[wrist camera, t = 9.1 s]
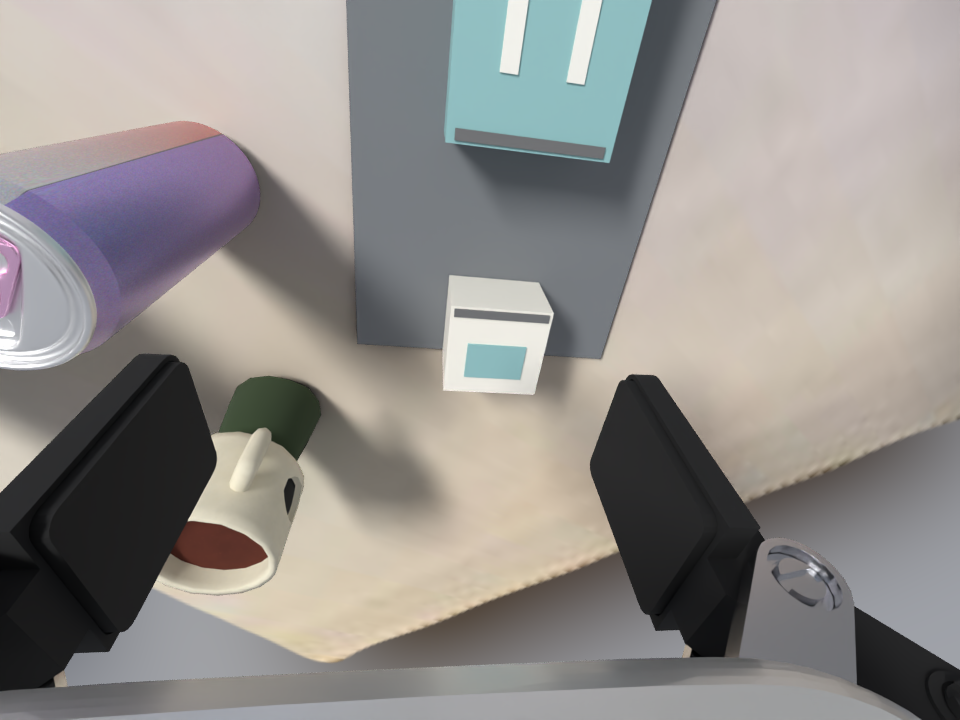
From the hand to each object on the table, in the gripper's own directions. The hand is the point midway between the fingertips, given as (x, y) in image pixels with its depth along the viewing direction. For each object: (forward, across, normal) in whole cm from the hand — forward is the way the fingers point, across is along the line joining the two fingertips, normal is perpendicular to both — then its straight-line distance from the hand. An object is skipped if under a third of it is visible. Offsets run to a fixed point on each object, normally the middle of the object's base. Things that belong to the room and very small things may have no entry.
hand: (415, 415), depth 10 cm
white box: (+19, -4, +8) cm, 21 cm away
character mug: (+19, +11, +16) cm, 28 cm away
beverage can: (+20, +12, 0) cm, 23 cm away
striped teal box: (+20, -5, -9) cm, 22 cm away
